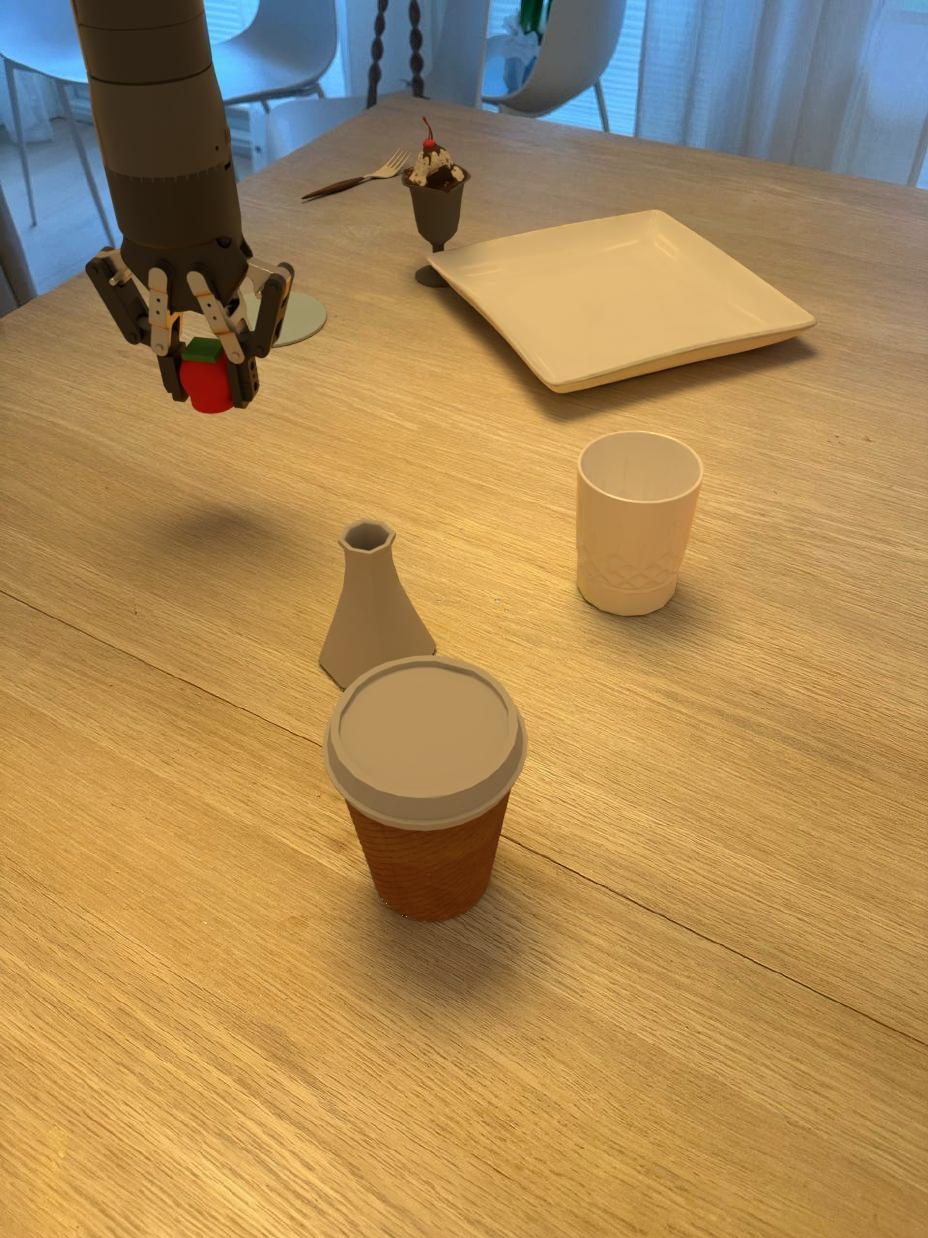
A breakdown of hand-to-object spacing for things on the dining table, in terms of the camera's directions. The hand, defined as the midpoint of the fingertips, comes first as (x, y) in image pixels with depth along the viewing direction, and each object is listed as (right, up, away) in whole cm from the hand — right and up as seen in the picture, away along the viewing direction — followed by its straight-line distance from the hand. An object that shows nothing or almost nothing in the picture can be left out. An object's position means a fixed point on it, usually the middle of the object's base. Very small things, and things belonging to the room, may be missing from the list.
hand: (214, 398), depth 74 cm
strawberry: (0, 0, 0) cm, 0 cm away
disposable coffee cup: (+16, -29, -18) cm, 38 cm away
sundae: (+15, +19, +33) cm, 41 cm away
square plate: (+31, +13, +26) cm, 43 cm away
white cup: (+29, -13, -1) cm, 32 cm away
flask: (+12, -18, -6) cm, 23 cm away
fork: (+5, +36, +51) cm, 63 cm away
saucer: (-1, +13, +27) cm, 30 cm away
